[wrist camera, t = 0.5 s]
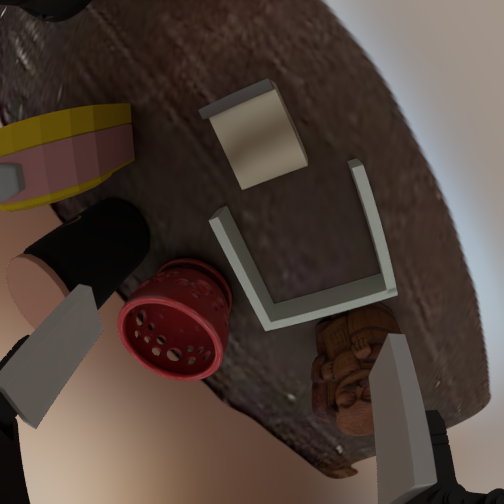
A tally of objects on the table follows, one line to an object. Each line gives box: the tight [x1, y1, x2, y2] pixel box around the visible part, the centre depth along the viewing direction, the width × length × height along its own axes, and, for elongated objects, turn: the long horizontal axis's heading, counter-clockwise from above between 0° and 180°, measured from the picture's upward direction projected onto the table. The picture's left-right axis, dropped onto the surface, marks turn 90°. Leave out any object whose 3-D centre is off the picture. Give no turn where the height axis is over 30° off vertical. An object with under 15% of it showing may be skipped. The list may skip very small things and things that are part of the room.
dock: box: [209, 158, 398, 331], centre depth 36 cm, size 16×17×4 cm
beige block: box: [198, 78, 308, 190], centre depth 30 cm, size 9×7×7 cm
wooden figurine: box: [311, 302, 401, 436], centre depth 34 cm, size 12×6×18 cm, turn 128°
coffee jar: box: [6, 200, 148, 329], centre depth 34 cm, size 11×11×18 cm
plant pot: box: [118, 258, 232, 381], centre depth 38 cm, size 13×13×12 cm
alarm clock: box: [0, 103, 135, 212], centre depth 28 cm, size 15×8×18 cm, turn 91°
